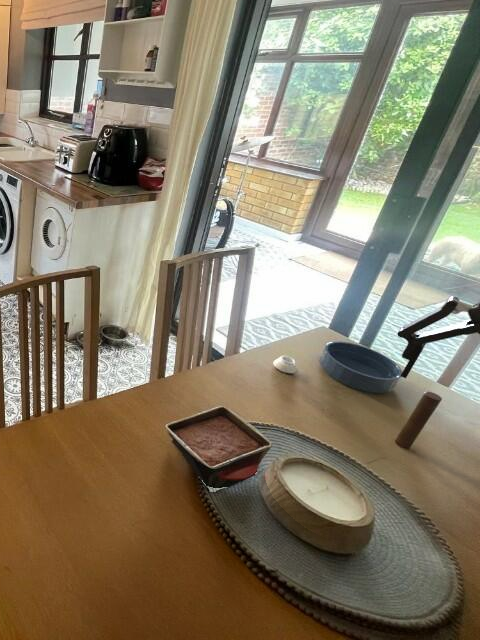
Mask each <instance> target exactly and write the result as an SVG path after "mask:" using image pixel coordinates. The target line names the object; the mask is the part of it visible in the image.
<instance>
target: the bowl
mask: <svg viewBox="0 0 480 640" xmlns="http://www.w3.org/2000/svg"><path fill="white" fill-rule="evenodd" d="M318 361H319V365H320V366H321V367H322V369H323V370H324V372H325V373H327V374H328V375H329V376H330V377H331V378H333V379H334V380H336V381H338V382H339V383H341V384H343V385H345V386H347V387H349V388H352V389H354V390H358V391H361V392H365V393H371V394H388V393H391V392H393V391H394V390H395V389H396V387H397V385H398V384H399V382H400V380H401V379H402V377H401V374H402V372H403V370H402V368H401V366H400V365H398V364H397V362H395V361H394V360H393V359H391V358H389V357H388V356H387V355H385V354H383V353H381V352H379V351H376V350H375V349H372V348H370V347H367V346H364V345H360V344H357V343H353V342H348V341H331V342H328V343H327V344H325V345H324V348H323V350H322V352H321V354H320V356H319V359H318Z"/></svg>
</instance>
